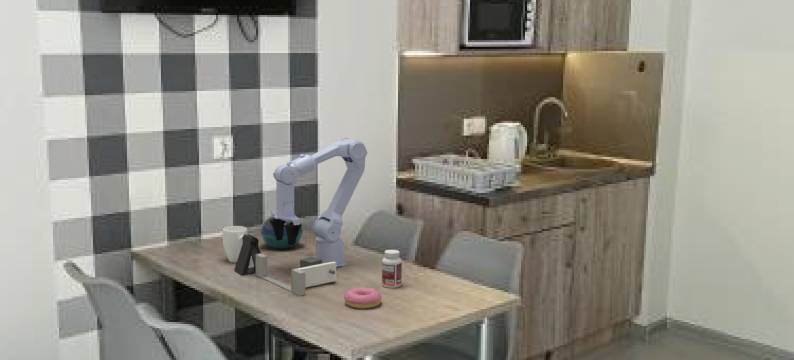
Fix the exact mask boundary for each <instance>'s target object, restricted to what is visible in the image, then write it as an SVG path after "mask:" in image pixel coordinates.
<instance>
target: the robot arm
mask: <svg viewBox="0 0 794 360" xmlns="http://www.w3.org/2000/svg"><path fill="white" fill-rule="evenodd" d="M367 155H368V150H367V148H366V145H365V143H364V142H362V141H360V140H355V139H350V138H349V137H344V138H341V139H339V140H336V141H335V142H333V143H332V144H330V145H328V146H326V147H325V148H322V149H321V150H319V151H317V152H316V153H314V154H311V155H309V154H308V153H307V154H303V153H301V154H299V157H298V158H295V159H293V160H292V161H291V160H288V161H287V162H286V164H284V163H283V164H282V163H281V164H279V165H278V166H276V168H275V169H274V172H273V173H272V176H273V178H274V179H275V181H276V187H275V188H276V194H275V195H276V196H275V197H276V203H275V204H276V206H275V207H276V210H272V211H271V212H270V215H271V216H270V217H273V219H270V220H269V222H270V223H271V225H272V227H273V230H274V234H275V238H276V240H277V241H278V240H282V239H283V232H284V227H285V229H286V232H287V239H288V245H295V242H296V238H297V235H298V232H299V230H300V228H301V227H302V226H303V224H302V223H301V224H300V222H301V218H299V217H298V216H296V214H295V183H296V181H297V180H298V178H300V177H303V176H305V175H307V174H309V173H310V172H312V171H314V170H315V169H316V166H317V165H318V164H321V163H323V162H326V161H328V160H331V159H332V158H335V157H341V158H342V159H343V161H344V162H345V163H344V164H345V165H346V168H347V169H346V170H345V173H344V175H343V177H342V178H341V181H340V183H339V185H338V187H337V189H336V191H335V192H334V195H333V197H332V199H331V201H330V203H329V204H328V207H327V209H326V210H325V211H324V212H322V213H320V215H319V217H318V218H317V219H315V221H314V222H313V224H312V232H313V234H314V235H315V258H318V259H322V264H323V263H328V262H336V268H339V267H344V266H346V265H347V263H345V261H346V260H345V259H346V258H345V256H346V255H345V253H346V252H345V251H346V248H345V243H344V241H343V239H341V238H340V237H341V235H342V227H343V225H344V221H343V215H344V213H345V211H346V208H347V206H348V205H349V203H350V201H351V198H352V196H353V195H354V192H355V191H356V188H357V186H358V185H359V183H360V180H361V178H362V176H363V174H364V173H365V167H366V157H367ZM286 221H287V222H290V224H285V222H286ZM295 246H296V245H295Z"/></svg>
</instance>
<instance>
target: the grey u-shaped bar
mask: <svg viewBox="0 0 794 360" xmlns="http://www.w3.org/2000/svg"><path fill="white" fill-rule="evenodd" d="M290 269H291V272H290V274H291V276H290V279H291V286H289V285H287V284H285V283H283V282H281V281H279V280H278V279H277V280H276V279H274V278H272V277H269V276H268V255H266V254H263V253H260V254H256V273H255V276H257V277H259V278H260V279H262V280H264V281H267V282H269V283H271V284H274V285H275V286H278V287H280V288H282V289H284V290H286V291H288V292H290V293H293V294H295V295H297V296H299V297H301V296H305V295H306V287H305V272H304V271H301V270H299V269H297V268H293V267H292V268H290ZM294 269H295V270H294Z"/></svg>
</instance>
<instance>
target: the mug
mask: <svg viewBox="0 0 794 360" xmlns="http://www.w3.org/2000/svg"><path fill="white" fill-rule="evenodd" d="M245 234H246V235H248V228H247V227H245V226H243V225H231V226H224V227H223V228H222V246H223V249H224V251H225V254H226V257H227V259H228V260H227V261H229V263H235V264H236V263H237V260H238V256H239V253H240V250H241V247H242V243H243V240H242V237H243V235H245Z"/></svg>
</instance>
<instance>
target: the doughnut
mask: <svg viewBox="0 0 794 360" xmlns="http://www.w3.org/2000/svg"><path fill="white" fill-rule="evenodd" d="M382 297H383V296H382V294H381V293H380V291H379V290H377V289H376V288H373V287H368V286H366V287H364V286H363V287H354V288H350V289H348V290H347V291H346V292H345V294H344V295H343V298H344V302H345V304H346V305H347V306H349V307H351V308H354V309H358V310H359V309H372V308H376V307H377V306H378V305H380V304H381V300H382Z"/></svg>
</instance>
